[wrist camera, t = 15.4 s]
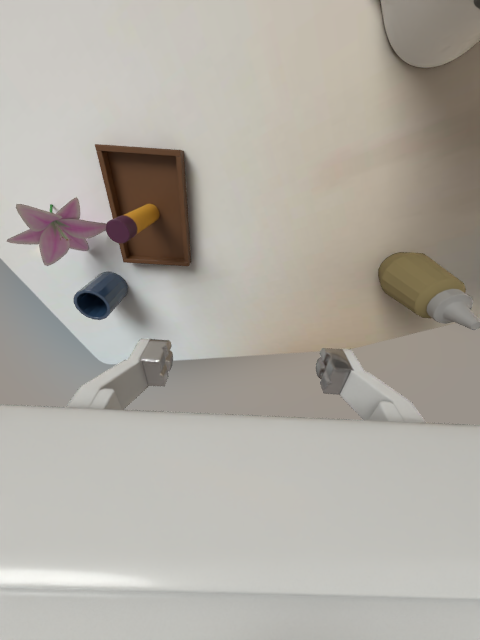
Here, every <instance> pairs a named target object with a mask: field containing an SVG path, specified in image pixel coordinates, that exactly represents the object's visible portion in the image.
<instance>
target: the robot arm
mask: <svg viewBox="0 0 480 640" xmlns="http://www.w3.org/2000/svg"><path fill="white" fill-rule="evenodd" d="M380 2H381V7H382V13H383V20H384V26H385V30H386V34H387V37H388V40H389V42H390V44H391V46H392V48H393V49H394V51H395V52H396V54H397V55H398V56H399V57H400V58H401V59H402V60H403V61H405V62H406V63H408V64H410V65H413V66H416V67H421V68H430V67H436V66H440V65H443V64H446V63H448V62H450V61H452V60H454V59H456V58H458V57H459V56H461V55H462V54H464V53H465V52H466V51H468V50H469V49H470V48H472V47H473V46H474V45H475V44H476V43H477V42H478V41H479V40H480V0H380ZM170 349H171V342H170V341H169V340H156V339H140V340H139V341H138V343H137V345H136V346H135V348H134V350H133V352H132V353H131V355H130V357H129V358H128V360H124V361H122V362H120V363H119V364H117V365H115V366H114V367H112V368H110V369H109V370H107V371H106V372H104V373H102V374H100V375H99V376H97V377H96V378H94V379H92V380H91V381H89V382H88V383H86V384H84V385H82V386H81V387H80V388H79V389H78V391H77V392H76V393H75V395H74V396H73V398H72V399H71V400H70V402H69V403H68V405H67V406H66V407H45V406H23V405H0V640H480V425H465V424H442V423H426V422H425V421H424V419H423V418H422V416H421V415H420V414H419V412H418V411H417V409H416V408H415V406H414V405H413V404H412V402H411V401H410V400H408V399H407V398H405V397H404V396H402V395H401V394H399V393H398V392H396V391H395V390H394V389H392V388H391V387H389V386H388V385H386V384H385V383H383V382H382V381H381V380H379V379H378V378H376V377H375V376H373V375H372V374H370V373H369V372H367V371H364V369H363V368H362V366H361V364H360V363H359V361H358V359H357V357H356V356H355V354H354V352H353V351H352V350H351V349H332V348H322V349H321V351H320V355H321V357H320V358H319V359H318V360H317V363H316V372H317V376H318V377H319V378H320V379H321V382H320V384H321V387H322V390H323V393H326V394H339V395H340V396H341V397H342V398H343V399H344V400H345V401H346V402H347V403H348V404H349V406H351V408H352V409H353V410H355V412H356V413H357V414H358V415H359V416H360V417H361V418H362V419H363V420H349V419H348V420H347V419H324V418H302V417H280V416H256V415H233V414H210V413H185V412H163V411H140V410H139V411H138V410H124V409H125V408H126V407H127V406H128V405H129V404H130V403H131V402H132V401H133V400H134V399H136V398H137V397H138V396H139V395H140V394H141V393H142V392H143V391H144V390H145V389H146V388H147V387H148V386H165V384H166V382H167V379H168V371H170V370H171V367H172V362H173V353H172V352H171V351H170Z"/></svg>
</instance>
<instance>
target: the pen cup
mask: <svg viewBox="0 0 480 640" xmlns="http://www.w3.org/2000/svg"><path fill="white" fill-rule="evenodd" d="M127 293H128V286H127V284H126V282H125V280H124V279H123V278H122V277H120V276H119V275H117V274H115V273H112V272H104V273H101V274H100V275H98V276H97V277H96V278H94V279H93V280H92V281H91V282H89V283H88V284H87V285H86V286H84V287H83V288H82V289H81V290H79V291H78V292H77V293H76V294H75V296H74V304H75V306H76V308H77V309H78V310H79V311H80V312H81V313H82V314H83V315H85V316H86V317H89V318H92V319H97V320H101V319H104V318H106V317H107V316H108V315H109V314H110V313H111V312H112V311H113V310H114V309H115V307H116V306H117V305H118V304H119V303H120V302H121V301H122V299H123V298H124V297H125V296H126V295H127Z"/></svg>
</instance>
